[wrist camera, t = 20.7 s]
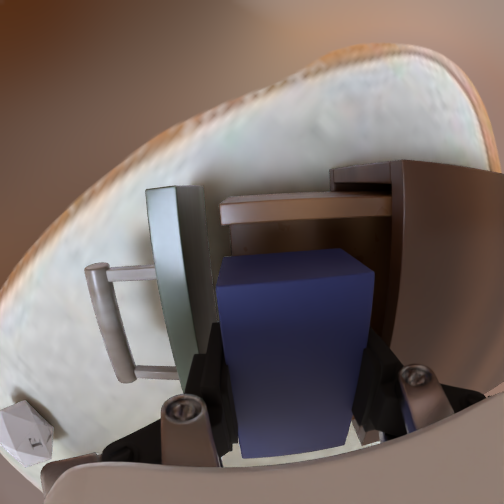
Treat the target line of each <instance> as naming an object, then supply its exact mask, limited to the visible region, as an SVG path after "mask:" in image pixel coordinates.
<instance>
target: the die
mask: <svg viewBox="0 0 504 504" xmlns="http://www.w3.org/2000/svg"><path fill="white" fill-rule="evenodd" d="M53 432H54V427H53V426H51V425H50V424H49V423H48V422H47V421H46V420H45V419H44V418H43V417H42V416H41V415H40V414H39V413H38V412H37V411H36V410H35V409H34V408H33V407H32V406H31V405H30V404H29V403H28V402H27V401H26V400H23V401H21V402H19V403H16V404H14V405H11V406H9V407H6V408H4V409H1V410H0V445H1V446H2V447H3V448H4V449H5V450H6V451H7V452H8V453H10V454H11V455H12V456H13V457H14V458H15V459H16V460H17V461H18V462H19V463H21V464H22V465H23V466H24V467H29V466H32V465H35V464H38V463H41V462H44V461H47V460H50V459H52V444H53Z"/></svg>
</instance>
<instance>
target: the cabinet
mask: <svg viewBox="0 0 504 504" xmlns="http://www.w3.org/2000/svg"><path fill="white" fill-rule="evenodd" d="M329 176H330V191H392V241H391V260H390V274H389V285H388V295H387V303H386V311H385V318H384V325H383V332H382V340H383V341H384V342H385V343H386V344H387V346H388V347H389V348H390V349H391V351H392V352H393V353H394V354H395V355H396V357H397V358H398V359H399V360H400V362H401V363H402V364H403V365H404V366H406V365H409V364H421V365H425V366H427V367H429V368H430V369H432V371H433V372H434V373H435V375H436V377H437V379H438V381H439V383H441V384H445V385H450V386H454V387H459V388H464V389H469V390H475V391H478V392H480V393H482V394H485V393H487V392H488V391H490V390H492V389H493V388H495V387H496V386H498V385H499V384H501V383H502V382H504V174H502V173H497V172H492V171H486V170H481V169H475V168H469V167H463V166H456V165H449V164H441V163H433V162H424V161H414V160H403V159H402V160H393V161H386V162H378V163H370V164H363V165H356V166H349V167H342V168H336V169H330V170H329ZM351 421H352V424H353V426H354V428H355V431H356V433H357V435H358V438H359V440H360V442H361V445H362V446H363V445H366V444H370V443H373V442H377V441H380V438H379V431H377V430H372V431H368V432H365V431H364V429H363V426H358V424H357V422H356V420H355V419H354V420H351Z"/></svg>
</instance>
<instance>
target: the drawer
mask: <svg viewBox="0 0 504 504" xmlns="http://www.w3.org/2000/svg"><path fill="white" fill-rule="evenodd" d="M145 194H146V205H147V214H148V223H149V231H150V239H151V246H152V253H153V259H154V264H153V265H139V266H124V267H111V268H110V267H109V264H108V263H104V262H103V263H95V264H92V265H89V266H87V267H86V268H85V269H84V271H85V276H86V280H87V285H88V289H89V293H90V297H91V301H92V305H93V308H94V312H95V315H96V319H97V322H98V325H99V329H100V332H101V335H102V338H103V341H104V344H105V347H106V350H107V353H108V355H109V358H110V361H111V364H112V366H113V369H114V371H115V374H116V376H117V379H118V381H119V382H121V383H125V384H127V383H132V382H134V381H135V380H137V378H145V379H167V380H180V383H181V387H182V390H183V394H184V391H185V387H186V383H187V379H188V375H189V371H190V367H191V363H192V359H193V356H194V354H206V351H207V346H208V341H209V336H210V331H211V326H212V323H214V322H218V319H217V311H216V303H215V296H214V287H213V279H212V270H211V262H210V252H209V243H208V233H207V222H206V212H205V200H204V188H203V186H195V185H182V186H167V187H160V188H152V189H146V190H145ZM219 213H220V224H221V225H222V226H225V225H229V228H230V240H231V252H232V256H242V255H256V254H269V253H283V252H296V251H309V250H322V249H335V248H341V249H342V250H344V251H345V252H347V253H348V254H350V255H351V256H352V257H354V258H355V259H357V260H358V261H360V262H361V263H362V264H364V265H365V266H367V267H368V268H369V269H371V270H372V271H374V273H375V279H374V291H373V302H372V311H371V319H370V326H371V327H372V329H373V330H374V331H375V332H376V333H377V335H379V336H380V337H381V338H382V332H383V325H384V318H385V311H386V303H387V295H388V285H389V274H390V260H391V241H392V191H328V192H299V193H278V194H261V195H246V196H233V197H228V198H227V199H225V200H224V201H223V202H221V203H220V204H219ZM154 279H157V283H158V289H159V294H160V299H161V305H162V309H163V314H164V319H165V324H166V328H167V333H168V337H169V341H170V345H171V349H172V353H173V357H174V361H175V365H176V366H143V365H137V366H136V365H135V362H134V359H133V356H132V353H131V350H130V346H129V343H128V340H127V337H126V333H125V330H124V326H123V322H122V319H121V315H120V311H119V307H118V303H117V299H116V295H115V290H114V286H113V282H115V281H135V280H154ZM354 419H355V418H354V415H353V416H352V420H354Z"/></svg>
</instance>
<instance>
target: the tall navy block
mask: <svg viewBox="0 0 504 504" xmlns="http://www.w3.org/2000/svg"><path fill="white" fill-rule="evenodd" d="M374 279H375V273H374V271H372V270H371V269H369V268H368V267H367V266H365V265H364V264H362V263H361V262H360V261H358V260H357V259H355V258H354V257H352V256H351V255H350V254H348V253H347V252H345V251H344V250H342V249H341V248H335V249H322V250H309V251H296V252H283V253H269V254H256V255H242V256H229V257H223V260H222V264H221V268H220V272H219V276H218V280H217V284H216V296H217V304H218V312H219V319H220V327H221V334H222V341H223V348H224V355H225V362H226V365H228V367H229V373H230V380H231V386H232V393H233V399H234V405H235V411H236V417H237V423H238V439H239V444H240V449H241V454H242V458H243V459H246V458H262V457H274V456H284V455H292V454H299V453H306V452H312V451H318V450H323V449H328V448H333V447H338V446H342V445H345V441H346V438H347V434H348V431H349V427H350V423H351V420H352V416H353V413H352V411H351V410H352V406H353V402H354V397H355V392H356V388H357V383H358V378H359V372H360V367H361V361H362V355H363V349H365V348H367V341H368V334H369V327H370V319H371V311H372V302H373V291H374Z"/></svg>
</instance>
